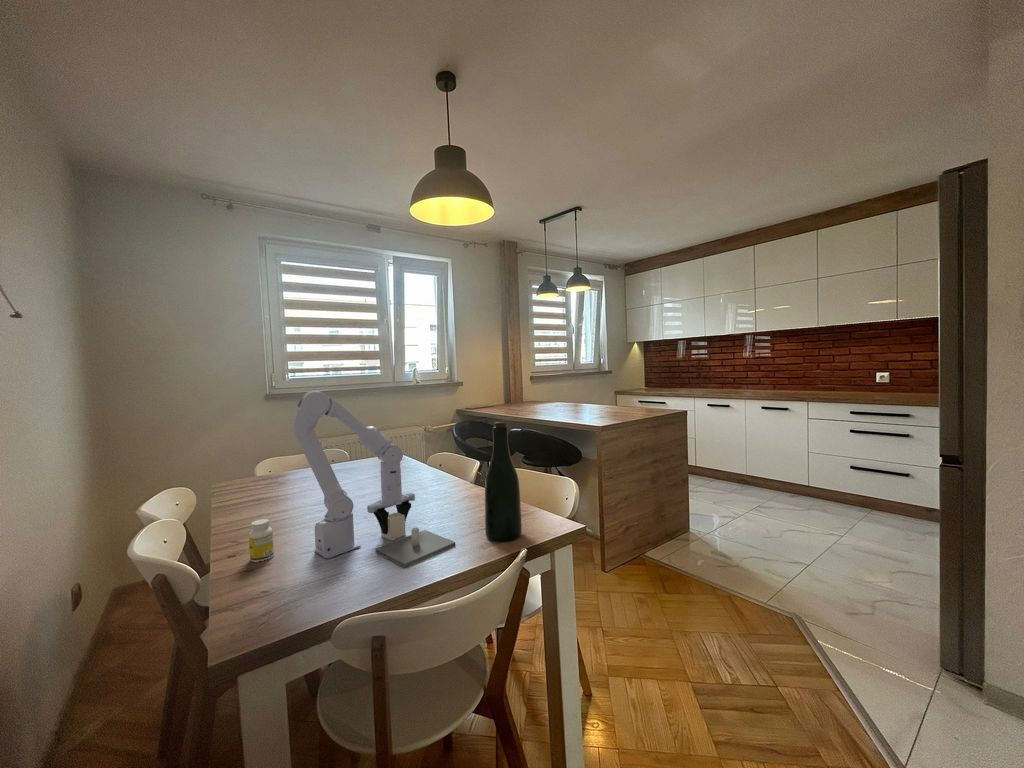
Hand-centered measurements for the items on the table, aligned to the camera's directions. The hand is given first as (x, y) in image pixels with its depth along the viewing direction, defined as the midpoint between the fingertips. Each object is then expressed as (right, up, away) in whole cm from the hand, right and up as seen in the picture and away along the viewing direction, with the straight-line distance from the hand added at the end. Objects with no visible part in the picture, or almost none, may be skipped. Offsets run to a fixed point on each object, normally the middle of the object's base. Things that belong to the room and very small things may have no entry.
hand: (393, 530), depth 118 cm
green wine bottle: (+33, -1, -3) cm, 33 cm away
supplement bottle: (-31, -3, -12) cm, 34 cm away
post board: (+9, -2, -9) cm, 13 cm away
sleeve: (0, -2, 0) cm, 2 cm away
